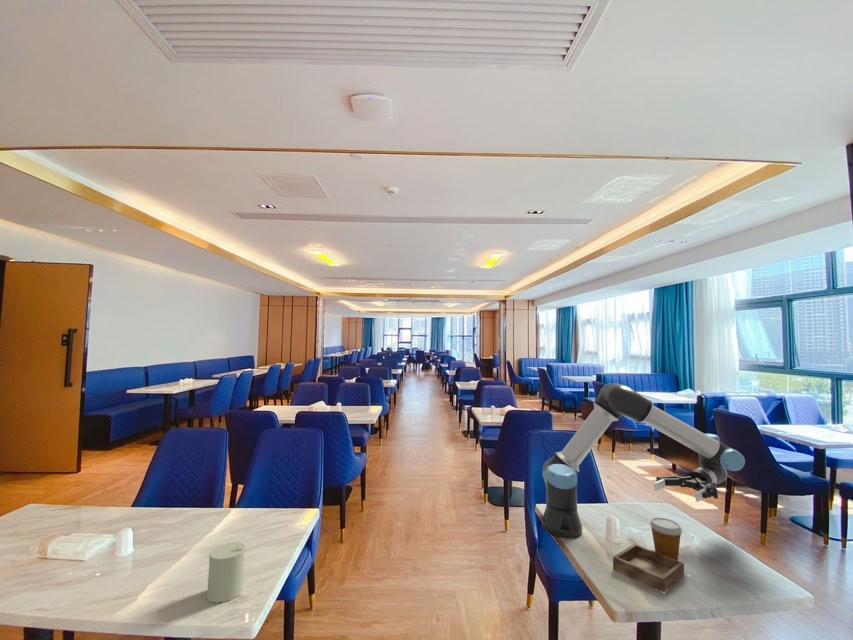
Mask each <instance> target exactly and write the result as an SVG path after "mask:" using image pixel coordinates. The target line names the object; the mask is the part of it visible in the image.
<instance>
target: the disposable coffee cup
mask: <svg viewBox="0 0 853 640" xmlns="http://www.w3.org/2000/svg"><path fill="white" fill-rule="evenodd" d="M649 526H650V528H651V532H652V533H651V534H652V540H653V546H654V551H655V552H657V553H660V554H662V555H665V556H667V557H670V558H672V559H675V560H677V561H679V551H680V545H681V535H682V533H683V529H682V527H681V525H680V524H679V523H678V522H677V521H675V520H671V519H669V518H665V517H653V518H651V519H650V522H649Z"/></svg>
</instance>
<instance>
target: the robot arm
mask: <svg viewBox="0 0 853 640" xmlns="http://www.w3.org/2000/svg"><path fill="white" fill-rule="evenodd" d="M593 406H594V407H593V409H592V411H591V412H590V414H589V415H588V416H587V418H586V419H585V420H584V422H582V424H581V425H580V426H579V428H578V429H577V431H576V432H575V433H574V435H573V436H572V437H571V438H570V440H569V441H568V442H567V444H566V445H565V447H564V448H563V449H562V450H561V451H556V452H555V453H554V454H553V455H552V457H551V458H548V459H547V460H546V461H545V462H544V463H543V466H542V471H541V472H542V473H541V475H542V478H543V480H544V483H545V484H544V485H545V489H546V490H545V491H546V492H545V495H546V499H545V501H546V503H545V504H546V505H545V506H546V507H545V509H544V512H543V516H542V518H541V527H542V529H543V530H544V531H545V532H547V533H549V534H551V535H553V536H556V537H561V538H571V539H572V538H577V537H580V536H581V535H582V534H583V525H582V522H581V519H580V515H579V513H578V473H580V465H581V464H582V462H583V461H584V459H585V458H586V457H587V455H588V454H589V453H590V451H592V448H593V447H594V446H595V444H597V443H598V441H599V439H600V438H601V437H602V436H603V435H604V433H605V432H606V430H607V429H608V428H609V426H610V425H612V422H618V421H620V419H621V418H622V417H623V416H624V417H627V418H629V419H631V420H633V421H636V422H637V423H639V424H641V423H644V424H646V425H648V426H649V427H651V428H652V429H654V430H656V431H658V432H660V433H662V434H664V435H666V436H667V437H668V438H671V439H673V440H675V441H676V442H678V443H680V444H682V445H683V446H685V447H687V448H688V449H691V450H693V452H695V453H698V461H699V467H697V468H695V469H693V470H691V471H689V472H687V475H686V476H679V474H673V475H665V476H656V477H655V479H656V481H655V482H653V485H654V486H653V487H654V491H656V492H657V491H660V490H662V489H664V488H666V487H673V486H674V487H676V486H677V487H680V488H688V489H693V490H694V491H696V492H695V493H694V495H695V502H701V501H702V500H704V499H708V498H712V497H713V498H714V499H719V492H718V489H717V485H719V484H722V483H723V482H724V481H725V480H726V479H727V478H728V470H729V471H732V472H738V471H740V470H742V469H743V468H744V466H745V464H746V458H745V457H744V455H743V454H742V453H741V452H739V451H738V450H737V449H734V448H731V447H729V445H726V444H724V443H722V442H721V439H720V436H718V434H713V433H704V432H702V431H700V430H699V429H697V428H695V427H693V426H691V425H689V424H688V423H686V422H684V421H682V420H681V419H679V418H677V417H675V416H674V415H672V414H669V413H668V412H666V411H664V410H663V409H660V408H658V407H656V406H655V405H654V403H653V401H651V400H649V399H648V398H646V397H644V396H643V395H641V394H640V393H638V392H637V391H635V389H633V388H631V387H629V386H627V385H623V384H621V383H617V382H612V383H607V384H605V385H603V387H601V389H600V390H599V393H598V397H597V398H596V399H595V400H594V402H593Z"/></svg>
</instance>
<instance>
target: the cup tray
mask: <svg viewBox="0 0 853 640" xmlns="http://www.w3.org/2000/svg"><path fill="white" fill-rule="evenodd" d="M684 566H685V565H684V562H682V561H679V560H678V561H677V560H675V559H672V558H670V557H667V556H665V555H662V554H660V553H657V552H655V550H652V549H649V548H646V547H645V546H642V545H641V544H637V543H633V544H632V545H630V546H628V547H626V548H625V549H623V550H622V551H619V552H618V553H617V554H615V555H613V556H612V569H613V571H614V572H615V571H616V573H617V572H618V573H619V574H621V575H624V576H625V577H628V578H630V579H632V580H634V581H636V582H638V583H640V584H643V585H645V586H647V587H649V588H651V587H652V588H651V589H653V588H654V589H653V590H655V589H657V590H659V591H662V592H665V591H666V590H667V589H669V588H670V587H671V586H672V587H673V586H674V584H675V583H676V584H677V583H679V582H680V581H681V580H682V579H684V577H685V567H684ZM676 584H675V585H676ZM672 587H671V588H672ZM671 588H670V589H671ZM670 589H669V590H670ZM657 590H656V591H657ZM659 591H658V592H659ZM666 592H667V591H666ZM666 592H665V593H666Z"/></svg>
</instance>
